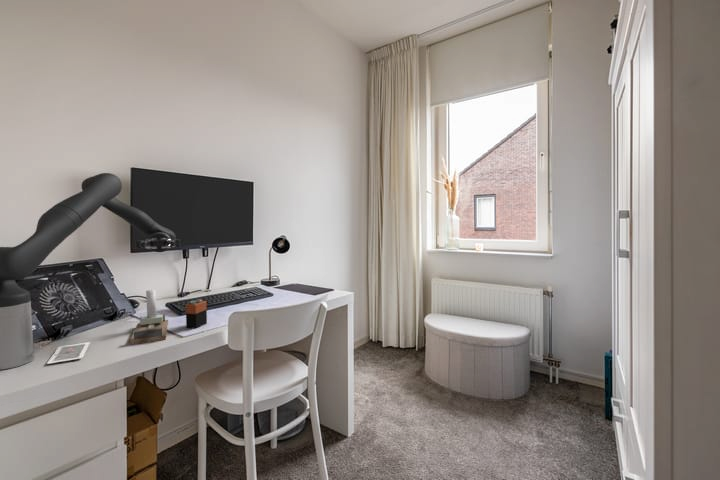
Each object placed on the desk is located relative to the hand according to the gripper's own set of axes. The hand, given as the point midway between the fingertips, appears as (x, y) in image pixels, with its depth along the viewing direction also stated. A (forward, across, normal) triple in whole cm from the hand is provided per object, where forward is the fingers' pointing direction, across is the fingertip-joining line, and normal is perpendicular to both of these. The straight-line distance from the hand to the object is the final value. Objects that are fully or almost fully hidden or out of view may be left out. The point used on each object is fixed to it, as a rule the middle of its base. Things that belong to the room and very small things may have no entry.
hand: (157, 244), depth 121 cm
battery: (-3, +12, +32) cm, 34 cm away
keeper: (-7, -3, +30) cm, 30 cm away
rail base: (-1, -3, +32) cm, 32 cm away
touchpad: (+10, -23, +33) cm, 41 cm away
